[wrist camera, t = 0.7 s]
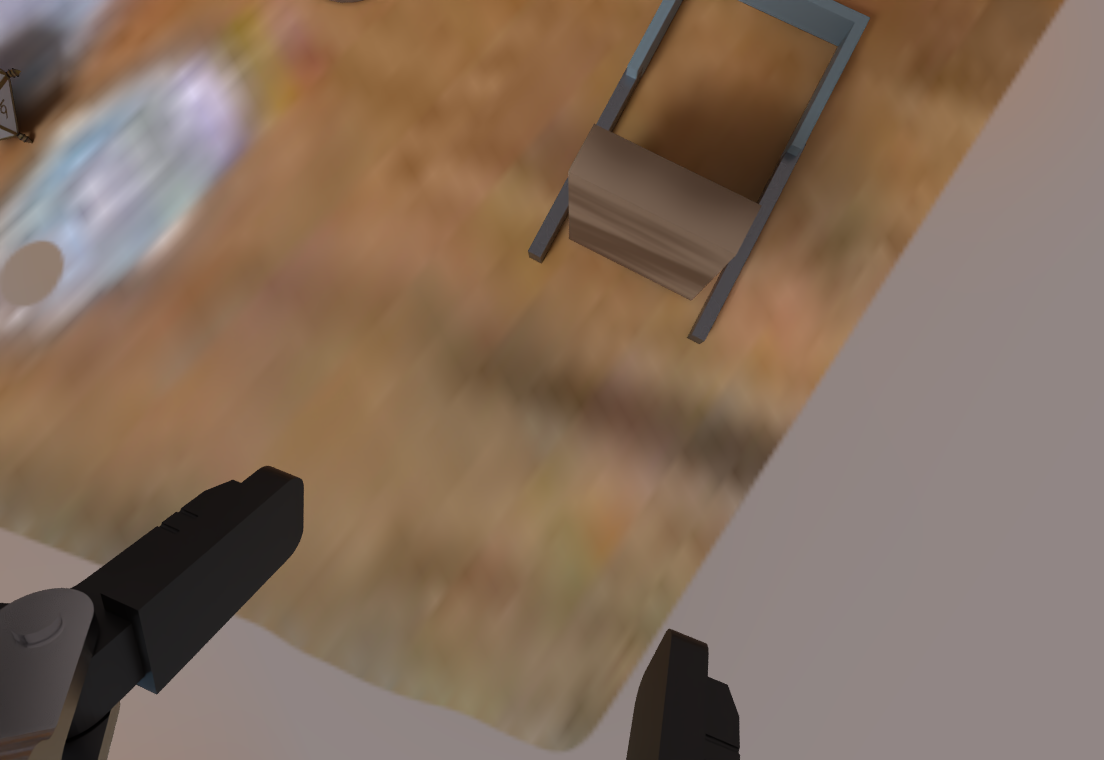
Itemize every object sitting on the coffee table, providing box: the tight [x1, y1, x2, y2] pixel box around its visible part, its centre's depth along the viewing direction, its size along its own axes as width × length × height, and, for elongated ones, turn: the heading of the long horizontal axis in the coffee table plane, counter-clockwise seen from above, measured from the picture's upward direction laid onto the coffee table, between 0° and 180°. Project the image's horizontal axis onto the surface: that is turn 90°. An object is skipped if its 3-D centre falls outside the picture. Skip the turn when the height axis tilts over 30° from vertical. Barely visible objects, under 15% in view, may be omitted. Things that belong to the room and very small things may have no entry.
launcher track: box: [528, 67, 806, 344], centre depth 40 cm, size 16×14×2 cm
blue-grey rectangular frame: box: [626, 0, 870, 160], centre depth 41 cm, size 11×14×2 cm
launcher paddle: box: [568, 124, 762, 300], centre depth 35 cm, size 3×10×11 cm, turn 62°
